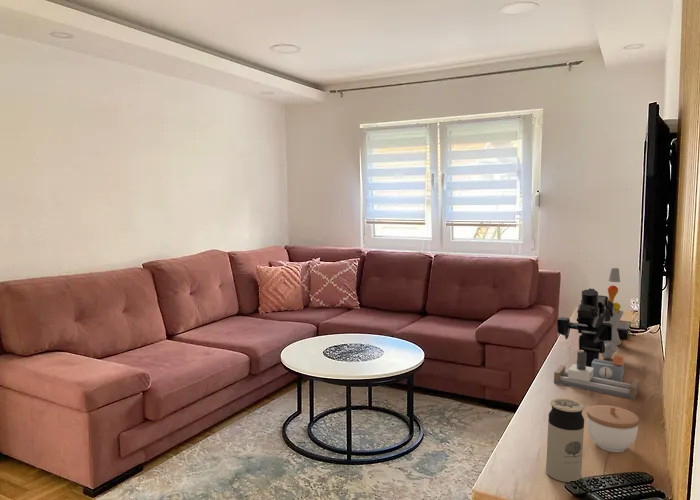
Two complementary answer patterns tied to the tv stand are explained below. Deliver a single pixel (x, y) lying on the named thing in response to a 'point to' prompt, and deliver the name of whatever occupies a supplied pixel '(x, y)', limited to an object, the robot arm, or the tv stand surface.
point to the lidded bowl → (612, 427)
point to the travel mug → (565, 440)
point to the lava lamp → (617, 313)
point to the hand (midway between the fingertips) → (579, 339)
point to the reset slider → (618, 360)
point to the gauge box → (607, 370)
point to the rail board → (598, 384)
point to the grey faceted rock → (609, 350)
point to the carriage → (581, 369)
